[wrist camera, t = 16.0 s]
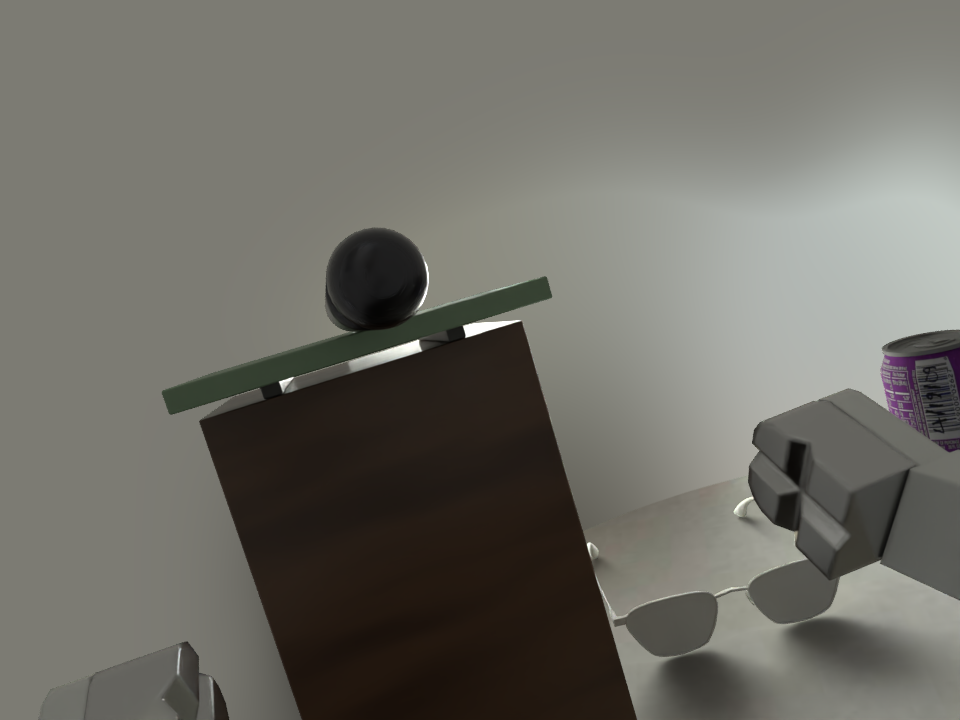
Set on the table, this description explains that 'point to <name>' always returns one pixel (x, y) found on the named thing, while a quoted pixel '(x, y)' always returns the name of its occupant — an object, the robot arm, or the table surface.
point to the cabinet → (420, 537)
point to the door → (362, 315)
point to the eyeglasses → (694, 614)
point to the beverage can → (925, 384)
